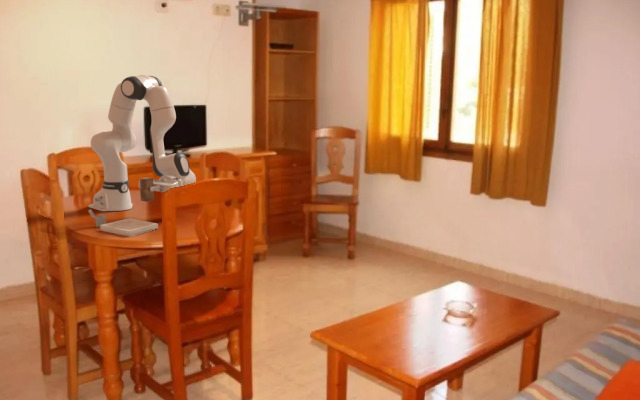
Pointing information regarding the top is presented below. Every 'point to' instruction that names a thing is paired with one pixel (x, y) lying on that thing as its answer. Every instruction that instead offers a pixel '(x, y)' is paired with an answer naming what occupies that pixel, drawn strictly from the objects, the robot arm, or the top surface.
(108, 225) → the tray
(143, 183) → the walnut block
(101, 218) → the lighter
